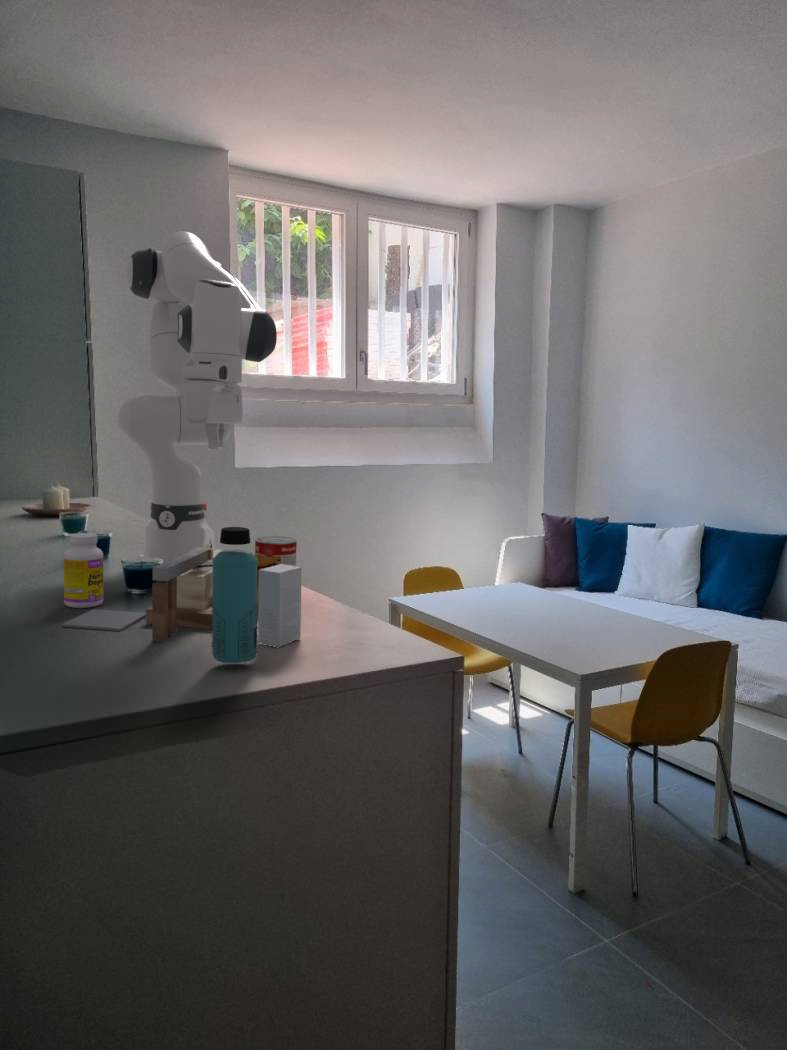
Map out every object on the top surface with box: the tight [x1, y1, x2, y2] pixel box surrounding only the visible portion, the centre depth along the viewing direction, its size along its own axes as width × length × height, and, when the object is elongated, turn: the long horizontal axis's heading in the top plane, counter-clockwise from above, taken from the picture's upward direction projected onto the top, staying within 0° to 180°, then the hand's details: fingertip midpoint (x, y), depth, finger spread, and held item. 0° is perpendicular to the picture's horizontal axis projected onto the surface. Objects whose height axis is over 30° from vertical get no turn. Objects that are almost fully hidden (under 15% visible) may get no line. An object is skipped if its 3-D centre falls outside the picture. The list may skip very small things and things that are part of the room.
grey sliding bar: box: [152, 548, 213, 582], centre depth 124 cm, size 19×3×2 cm, turn 173°
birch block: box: [177, 569, 213, 610], centre depth 129 cm, size 5×5×8 cm
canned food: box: [254, 536, 298, 604], centre depth 143 cm, size 8×8×12 cm
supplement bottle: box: [63, 532, 104, 609], centre depth 134 cm, size 7×7×13 cm
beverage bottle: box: [210, 526, 259, 664], centre depth 104 cm, size 6×7×20 cm
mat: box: [62, 608, 146, 632], centre depth 125 cm, size 10×10×1 cm
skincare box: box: [257, 564, 302, 648], centre depth 117 cm, size 6×4×12 cm
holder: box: [145, 577, 212, 643], centre depth 125 cm, size 21×12×9 cm, turn 173°
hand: (215, 448), depth 135 cm, fingers closed
